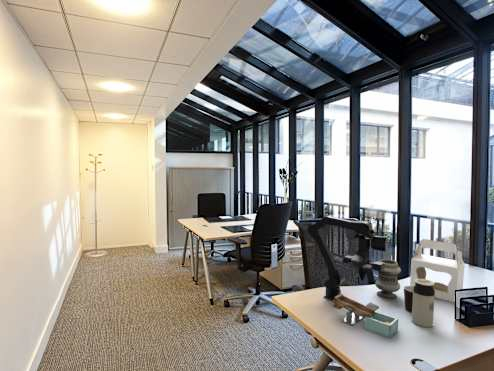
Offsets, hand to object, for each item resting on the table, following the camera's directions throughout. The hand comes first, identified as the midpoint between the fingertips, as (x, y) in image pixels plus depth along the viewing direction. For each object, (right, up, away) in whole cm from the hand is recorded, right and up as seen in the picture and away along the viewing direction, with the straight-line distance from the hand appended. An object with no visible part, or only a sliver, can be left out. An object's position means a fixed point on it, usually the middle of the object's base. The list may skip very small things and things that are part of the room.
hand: (362, 280), depth 153 cm
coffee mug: (+24, -13, -3) cm, 27 cm away
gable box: (+46, -13, +19) cm, 51 cm away
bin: (0, -13, -23) cm, 26 cm away
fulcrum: (-9, -13, -14) cm, 21 cm away
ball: (+1, -11, -24) cm, 27 cm away
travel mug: (+20, -14, -16) cm, 29 cm away
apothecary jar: (+18, -12, +14) cm, 25 cm away
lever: (-6, -10, -11) cm, 16 cm away
